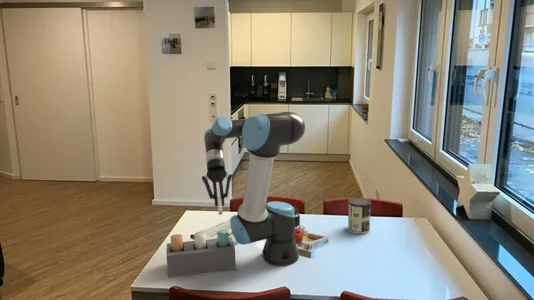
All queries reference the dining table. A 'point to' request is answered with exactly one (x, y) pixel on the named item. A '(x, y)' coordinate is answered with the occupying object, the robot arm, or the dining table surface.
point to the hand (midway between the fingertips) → (220, 213)
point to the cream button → (200, 240)
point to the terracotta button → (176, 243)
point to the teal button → (223, 238)
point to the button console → (200, 259)
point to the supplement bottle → (296, 217)
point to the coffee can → (359, 215)
